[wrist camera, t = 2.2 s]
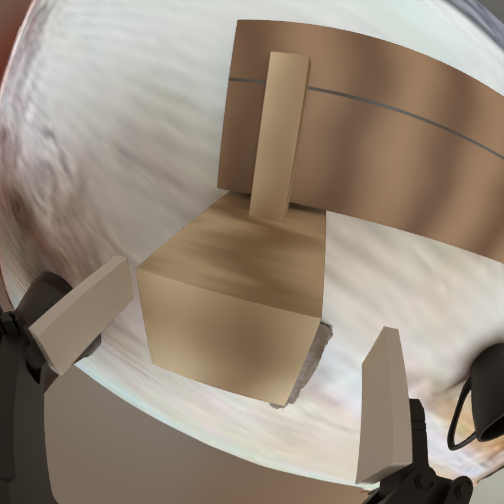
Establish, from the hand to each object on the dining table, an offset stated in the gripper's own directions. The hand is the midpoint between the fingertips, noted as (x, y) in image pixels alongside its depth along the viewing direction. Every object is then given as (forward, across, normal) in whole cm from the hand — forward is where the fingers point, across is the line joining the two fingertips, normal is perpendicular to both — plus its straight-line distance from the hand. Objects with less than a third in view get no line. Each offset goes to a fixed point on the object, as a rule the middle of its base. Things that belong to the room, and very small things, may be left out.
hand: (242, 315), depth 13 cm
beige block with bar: (+10, -1, +5) cm, 11 cm away
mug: (+10, +27, -11) cm, 31 cm away
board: (+10, +9, +9) cm, 16 cm away
